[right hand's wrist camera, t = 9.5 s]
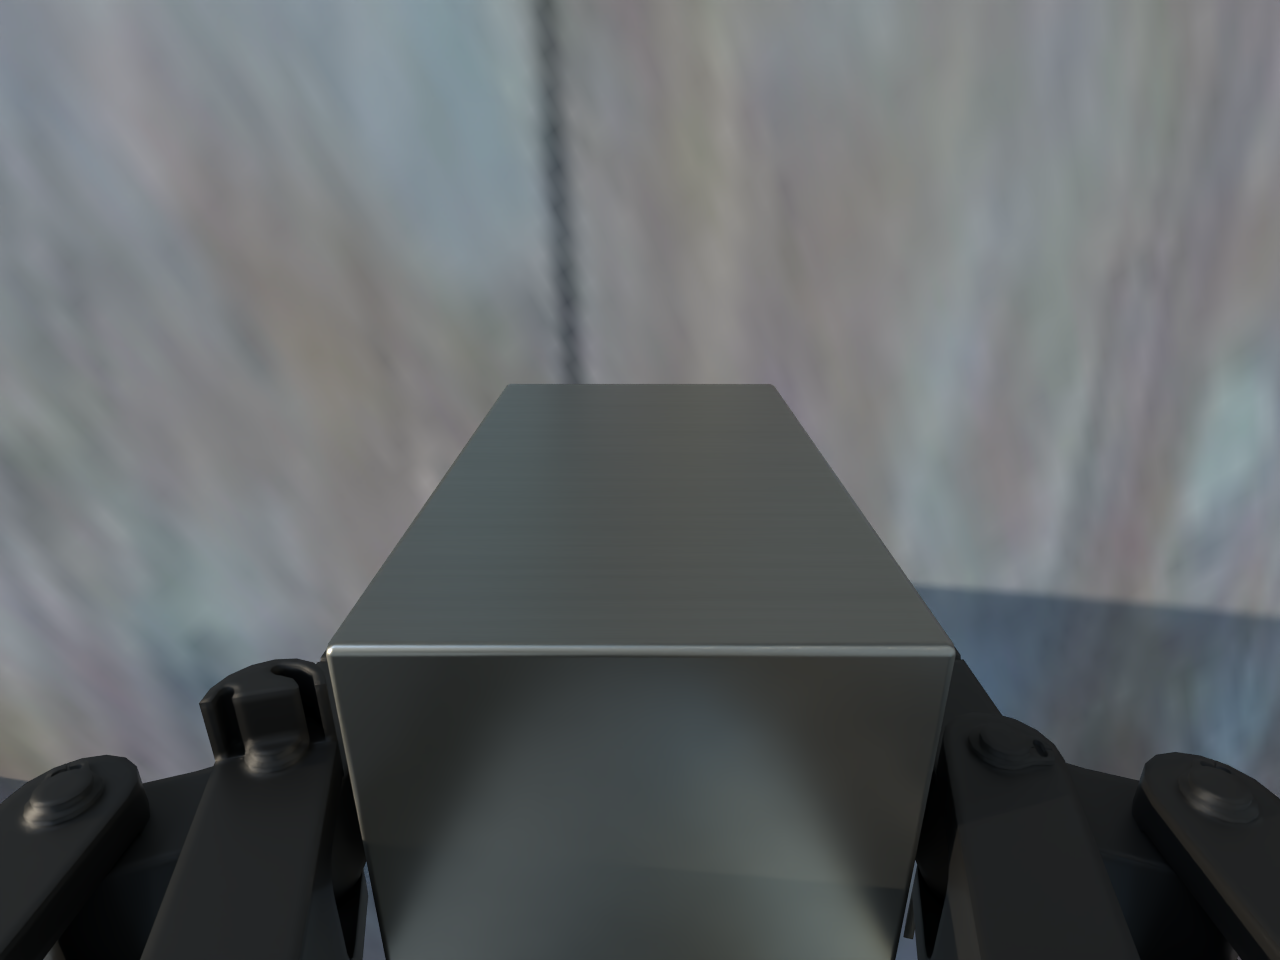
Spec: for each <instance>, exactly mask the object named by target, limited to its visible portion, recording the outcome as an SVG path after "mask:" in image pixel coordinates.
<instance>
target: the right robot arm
mask: <svg viewBox="0 0 1280 960" xmlns="http://www.w3.org/2000/svg"><path fill="white" fill-rule="evenodd" d="M954 648H955V647H954ZM326 650H327V649H326ZM955 651H956V655H955V661H954V666H953V671H952V676H951V681H950V686H949V691H948V696H947V701H946V706H945V711H944V716H943V722H942V727H941V732H940V737H939V742H938V747H937V752H936V757H935V762H934V767H933V772H932V777H931V782H930V787H929V792H928V797H927V802H926V807H925V812H924V817H923V822H922V827H921V832H920V837H919V842H918V847H917V852H916V858H915V860H916V863H917V869H916V874H915V879H914V884H913V889H912V894H911V899H910V904H909V909H908V914H907V919H906V925H905V931H904V937H905V938H909V939H913V936H914V931H915V934H916V945H917V957H918V960H1238V959H1237V958H1238V955H1239V957H1240V958H1241V959H1242V960H1280V799H1279V798H1278V797H1277V796H1275V795H1274V794H1273V793H1272V792H1270V791H1269V790H1268V789H1267V788H1265V787H1264V786H1263V785H1261V784H1260V783H1259V782H1258V781H1256V780H1255V779H1253V778H1251V777H1249V776H1248V775H1246V774H1244V773H1242V772H1240V771H1238V770H1236V769H1234V768H1233V767H1231V766H1229V765H1226V764H1223V763H1221V762H1218V761H1214V760H1212V759H1209V758H1206V757H1203V756H1199V755H1192V754H1185V753H1178V752H1173V753H1166V754H1158V755H1155V756H1154V757H1153V758H1152V759H1150V760H1149V761H1148V762H1147V763H1145V766H1144V769H1143V772H1142V775H1141V778H1140V781H1138V780H1133V779H1129V778H1124V777H1120V776H1115V775H1111V774H1107V773H1102V772H1098V771H1093V770H1089V769H1085V768H1081V767H1078V766H1075V765H1071V764H1068V763H1066V762H1065V760H1064V759H1063V757H1062V755H1061V754H1060V752H1059V751H1058V749H1057V748H1056V746H1055V745H1054V744H1053V743H1052V742H1051V741H1049V740H1048V739H1047V738H1046V737H1045V736H1043V735H1042V734H1041V733H1040V732H1038V731H1037V730H1035V729H1033V728H1032V727H1030V726H1028V725H1026V724H1024V723H1022V722H1020V721H1018V720H1016V719H1012V718H1009V717H1005V716H1002V715H1001V713H1000V712H999V710H998V709H997V707H996V706H995V704H994V703H993V702H992V700H991V699H990V697H989V696H988V694H987V693H986V691H985V690H984V689H983V687H982V686H981V684H980V683H979V681H978V680H977V678H976V677H975V676H974V674H973V673H972V671H971V670H970V668H969V667H968V665H967V664H966V663H965V661H964V660H961V658H960V654H959V652H958V651H957V650H956V648H955ZM199 705H200V708H201V712H202V715H203V719H204V722H205V726H206V729H207V733H208V736H209V740H210V744H211V747H212V751H213V754H214V758H215V764H214V766H213V767H209V768H206V769H203V770H199V771H196V772H191V773H187V774H182V775H178V776H174V777H169V778H165V779H160V780H156V781H152V782H147V783H143V784H142V781H141V778H140V775H139V772H138V769H137V766H136V765H134V764H133V763H132V762H131V761H129V760H128V759H127V758H125V757H118V756H111V755H102V756H95V757H88V758H82V759H79V760H76V761H73V762H69V763H67V764H64V765H61V766H58V767H55V768H53V769H51V770H49V771H47V772H46V773H44V774H42V775H40V776H38V777H36V778H34V779H33V780H31V781H29V782H27V783H26V784H24V785H23V786H22V787H21V788H19V789H18V790H17V791H16V792H14V793H13V794H12V795H11V796H9V797H8V798H7V799H5V800H4V801H3V802H2V803H1V804H0V960H43V959H44V960H362V959H363V947H364V936H365V925H366V914H367V902H368V891H367V885H366V879H365V874H364V869H363V868H364V866H365V863H366V856H365V850H364V845H363V840H362V835H361V830H360V825H359V820H358V815H357V810H356V804H355V799H354V794H353V789H352V784H351V779H350V774H349V769H348V764H347V758H346V753H345V748H344V743H343V738H342V733H341V728H340V723H339V718H338V712H337V707H336V702H335V697H334V692H333V687H332V682H331V677H330V672H329V667H328V661H327V656H326V651H325V652H324V654H323V655H322V657H321V661H320V662H317V664H315V663H313V662H309V661H305V660H300V659H275V660H271V661H267V662H263V663H259V664H255V665H251V666H249V667H246V668H244V669H242V670H240V671H237V672H235V673H233V674H231V675H229V676H227V677H226V678H224V679H223V680H222V681H220V682H219V683H218V684H216V685H215V686H213V687H212V688H211V689H210V690H209V691H208V692H207V694H206V695H205V696H204V698H203V699H202V700H201V702H200V703H199Z"/></svg>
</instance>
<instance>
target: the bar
mask: <svg viewBox="0 0 1280 960" xmlns="http://www.w3.org/2000/svg"><path fill="white" fill-rule="evenodd" d="M955 655H956V651H955V648H954V644H953V643H952V641H951V640H950V638H949V637H948V635H947V634H946V632H945V631H944V630H943V628H942V627H941V625H940V624H939V622H938V621H937V620H936V618H935V617H934V615H933V614H932V612H931V611H930V609H929V608H928V607H927V605H926V604H925V602H924V601H923V599H922V598H921V597H920V595H919V594H918V592H917V591H916V589H915V588H914V587H913V585H912V584H911V582H910V581H909V579H908V578H907V576H906V575H905V574H904V572H903V571H902V569H901V568H900V566H899V565H898V564H897V562H896V561H895V559H894V558H893V556H892V555H891V553H890V552H889V551H888V549H887V548H886V546H885V545H884V543H883V542H882V541H881V539H880V538H879V536H878V535H877V533H876V532H875V530H874V529H873V528H872V526H871V525H870V523H869V522H868V520H867V519H866V518H865V516H864V515H863V513H862V512H861V510H860V509H859V507H858V506H857V505H856V503H855V502H854V500H853V499H852V497H851V496H850V495H849V493H848V492H847V490H846V489H845V487H844V486H843V484H842V483H841V482H840V480H839V479H838V477H837V476H836V474H835V473H834V472H833V470H832V469H831V467H830V466H829V464H828V463H827V461H826V460H825V459H824V457H823V456H822V454H821V453H820V451H819V450H818V449H817V447H816V446H815V444H814V443H813V441H812V440H811V438H810V437H809V436H808V434H807V433H806V431H805V430H804V428H803V427H802V426H801V424H800V423H799V421H798V420H797V418H796V417H795V415H794V414H793V413H792V411H791V410H790V408H789V407H788V405H787V404H786V403H785V401H784V400H783V398H782V397H781V395H780V394H779V392H778V391H777V390H776V388H775V387H774V386H773V385H771V384H510V385H507V386H506V388H505V389H504V391H503V392H502V394H501V395H500V397H499V398H498V399H497V401H496V402H495V404H494V405H493V407H492V408H491V410H490V411H489V412H488V414H487V415H486V417H485V418H484V420H483V421H482V423H481V424H480V425H479V427H478V428H477V430H476V431H475V433H474V434H473V436H472V437H471V438H470V440H469V441H468V443H467V444H466V446H465V447H464V448H463V450H462V451H461V453H460V454H459V456H458V457H457V459H456V460H455V461H454V463H453V464H452V466H451V467H450V469H449V470H448V472H447V473H446V474H445V476H444V477H443V479H442V480H441V482H440V483H439V485H438V486H437V487H436V489H435V490H434V492H433V493H432V495H431V496H430V498H429V499H428V500H427V502H426V503H425V505H424V506H423V508H422V509H421V511H420V512H419V513H418V515H417V516H416V518H415V519H414V521H413V522H412V524H411V525H410V526H409V528H408V529H407V531H406V532H405V534H404V535H403V537H402V538H401V539H400V541H399V542H398V544H397V545H396V547H395V548H394V550H393V551H392V552H391V554H390V555H389V557H388V558H387V560H386V561H385V563H384V564H383V565H382V567H381V568H380V570H379V571H378V573H377V574H376V576H375V577H374V578H373V580H372V581H371V583H370V584H369V586H368V587H367V589H366V590H365V591H364V593H363V594H362V596H361V597H360V599H359V600H358V602H357V603H356V604H355V606H354V607H353V609H352V610H351V612H350V613H349V615H348V616H347V617H346V619H345V620H344V622H343V623H342V625H341V626H340V628H339V629H338V630H337V632H336V633H335V635H334V636H333V638H332V639H331V641H330V642H329V643H328V647H327V650H326V656H327V661H328V667H329V672H330V677H331V682H332V687H333V692H334V697H335V702H336V707H337V712H338V718H339V723H340V728H341V733H342V738H343V743H344V748H345V753H346V758H347V764H348V769H349V774H350V779H351V784H352V789H353V794H354V799H355V804H356V810H357V815H358V820H359V825H360V830H361V835H362V840H363V845H364V850H365V856H366V861H367V866H368V871H369V876H370V881H371V886H372V891H373V896H374V902H375V907H376V912H377V917H378V922H379V927H380V932H381V937H382V942H383V948H384V953H385V958H386V960H895V958H896V953H897V948H898V943H899V938H900V933H901V928H902V923H903V918H904V913H905V908H906V903H907V898H908V893H909V888H910V883H911V878H912V873H913V868H914V863H915V858H916V852H917V847H918V842H919V837H920V832H921V827H922V822H923V817H924V812H925V807H926V802H927V797H928V792H929V787H930V782H931V777H932V772H933V767H934V762H935V757H936V752H937V747H938V742H939V737H940V732H941V727H942V722H943V716H944V711H945V706H946V701H947V696H948V691H949V686H950V681H951V676H952V671H953V666H954V661H955Z"/></svg>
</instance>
